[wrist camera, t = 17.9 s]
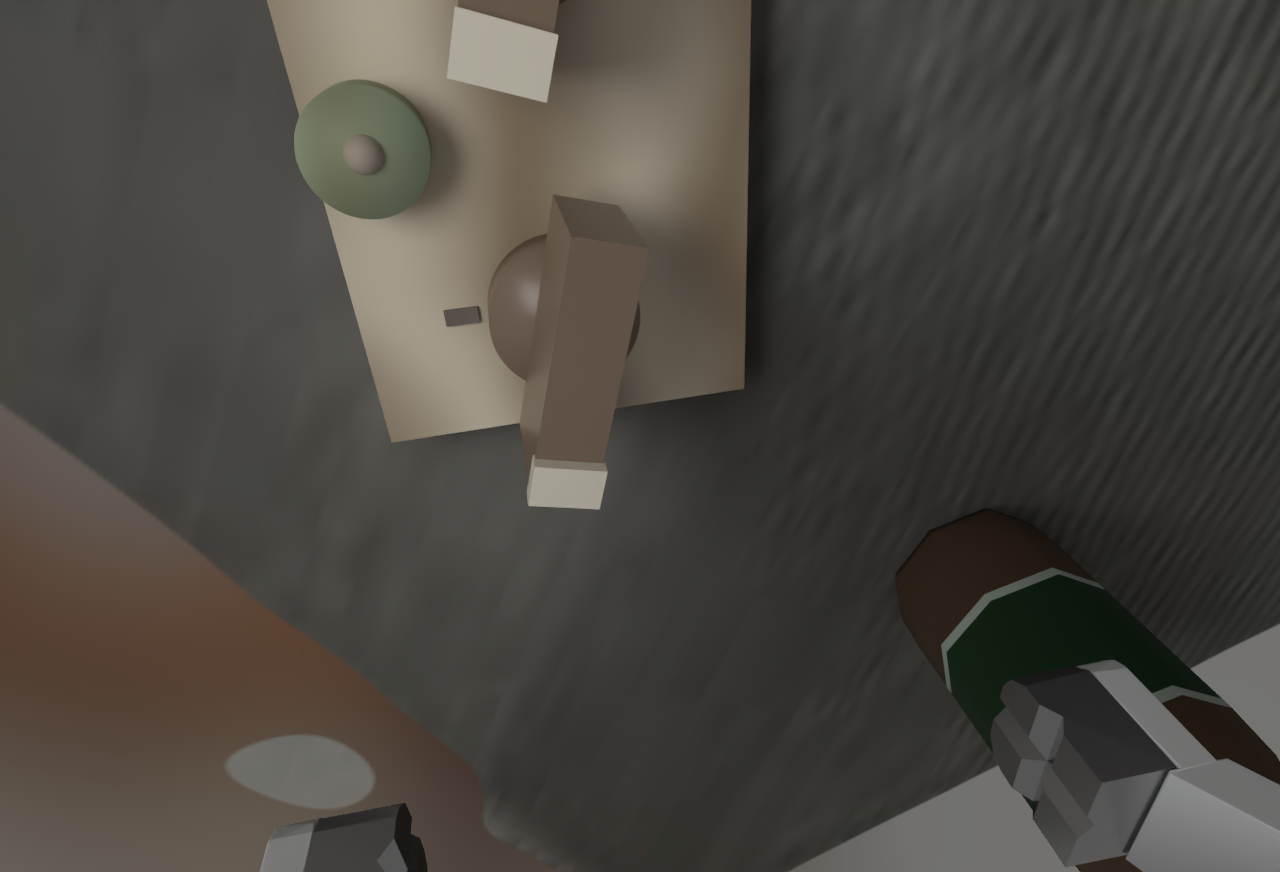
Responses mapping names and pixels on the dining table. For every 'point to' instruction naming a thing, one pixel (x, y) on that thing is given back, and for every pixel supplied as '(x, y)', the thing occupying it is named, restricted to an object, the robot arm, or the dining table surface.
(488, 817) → the dining table surface
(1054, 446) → the dining table surface
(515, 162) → the control panel
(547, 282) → the knob far
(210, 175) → the dining table surface
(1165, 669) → the beer bottle
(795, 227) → the dining table surface
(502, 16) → the knob near
